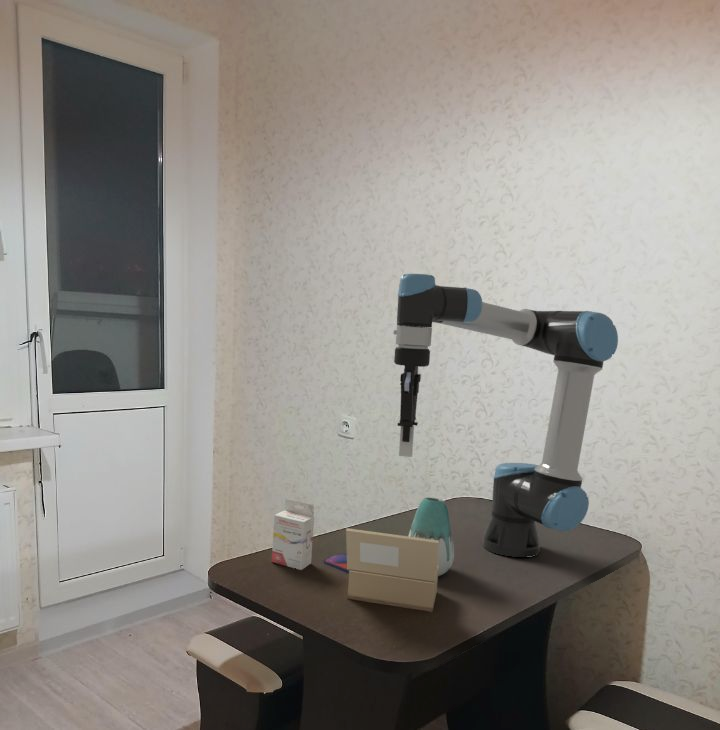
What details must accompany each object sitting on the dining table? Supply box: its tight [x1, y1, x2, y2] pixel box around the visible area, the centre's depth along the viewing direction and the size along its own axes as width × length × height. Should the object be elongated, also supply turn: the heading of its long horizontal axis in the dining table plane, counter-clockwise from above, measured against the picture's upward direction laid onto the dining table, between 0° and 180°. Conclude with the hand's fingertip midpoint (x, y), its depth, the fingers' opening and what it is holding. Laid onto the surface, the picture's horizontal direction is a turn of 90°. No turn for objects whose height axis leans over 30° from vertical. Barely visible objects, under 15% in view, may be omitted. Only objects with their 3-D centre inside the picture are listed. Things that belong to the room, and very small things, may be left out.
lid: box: [345, 527, 439, 584], centre depth 129 cm, size 19×11×1 cm
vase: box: [407, 497, 455, 577], centre depth 151 cm, size 12×12×18 cm
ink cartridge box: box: [271, 498, 315, 571], centre depth 150 cm, size 9×5×15 cm, turn 65°
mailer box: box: [347, 566, 439, 613], centre depth 137 cm, size 18×10×6 cm, turn 78°
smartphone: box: [323, 553, 349, 574], centre depth 151 cm, size 7×15×1 cm, turn 51°
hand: (405, 455), depth 137 cm, fingers closed
